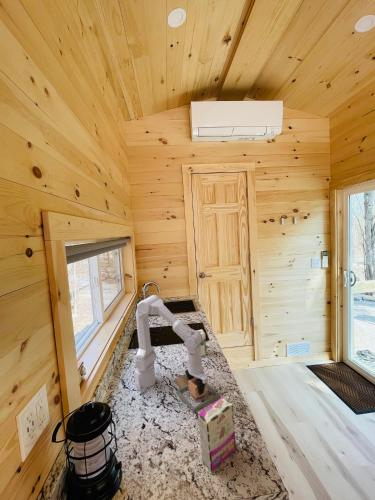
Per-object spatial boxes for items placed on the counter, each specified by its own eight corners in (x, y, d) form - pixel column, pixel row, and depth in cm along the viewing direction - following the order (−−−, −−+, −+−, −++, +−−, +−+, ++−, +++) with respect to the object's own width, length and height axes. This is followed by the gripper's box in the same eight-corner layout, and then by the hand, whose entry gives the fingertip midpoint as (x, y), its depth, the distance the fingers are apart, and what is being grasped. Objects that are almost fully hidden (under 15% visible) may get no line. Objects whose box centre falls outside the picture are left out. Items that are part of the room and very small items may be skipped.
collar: (195, 398, 97) (195, 387, 97) (188, 391, 102) (188, 380, 101) (209, 391, 101) (208, 380, 100) (201, 384, 105) (201, 374, 105)
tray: (193, 415, 92) (193, 409, 92) (176, 395, 103) (176, 390, 103) (219, 399, 99) (219, 394, 99) (201, 382, 110) (201, 378, 110)
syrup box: (197, 359, 130) (195, 334, 129) (194, 354, 136) (192, 330, 134) (207, 357, 132) (205, 333, 130) (203, 352, 137) (201, 328, 136)
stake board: (180, 390, 106) (179, 379, 106) (172, 382, 112) (171, 371, 112) (198, 381, 111) (197, 370, 111) (190, 374, 117) (189, 363, 117)
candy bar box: (225, 439, 81) (222, 395, 79) (236, 450, 76) (233, 404, 75) (200, 460, 74) (197, 413, 72) (211, 473, 70) (207, 423, 68)
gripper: (212, 364, 95) (214, 395, 97) (193, 350, 108) (195, 377, 109) (198, 371, 92) (201, 403, 93) (180, 355, 104) (182, 383, 105)
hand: (197, 389), depth 101 cm, fingers closed on collar, 5 cm apart
